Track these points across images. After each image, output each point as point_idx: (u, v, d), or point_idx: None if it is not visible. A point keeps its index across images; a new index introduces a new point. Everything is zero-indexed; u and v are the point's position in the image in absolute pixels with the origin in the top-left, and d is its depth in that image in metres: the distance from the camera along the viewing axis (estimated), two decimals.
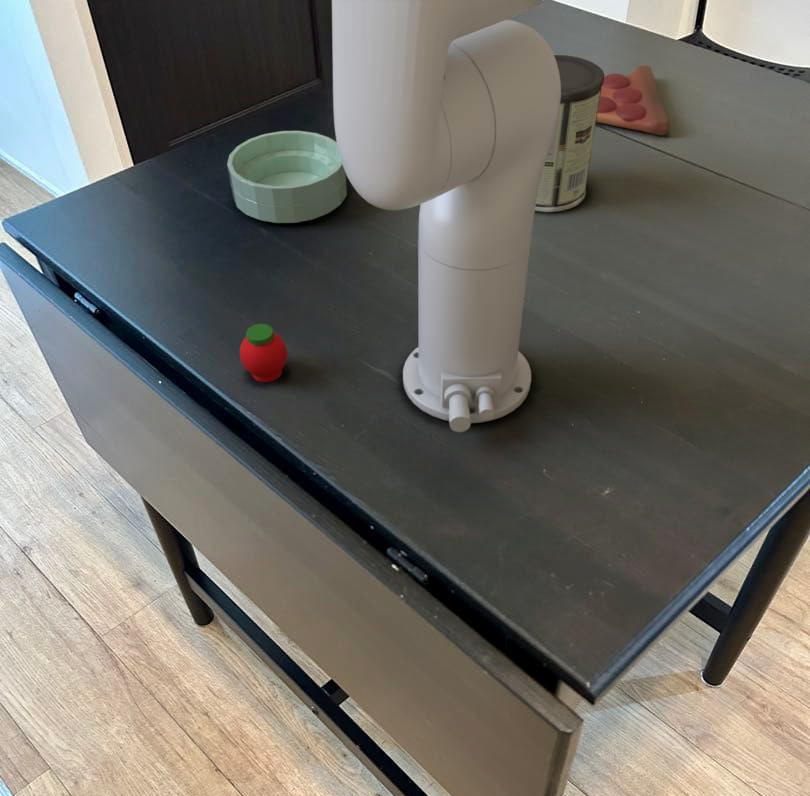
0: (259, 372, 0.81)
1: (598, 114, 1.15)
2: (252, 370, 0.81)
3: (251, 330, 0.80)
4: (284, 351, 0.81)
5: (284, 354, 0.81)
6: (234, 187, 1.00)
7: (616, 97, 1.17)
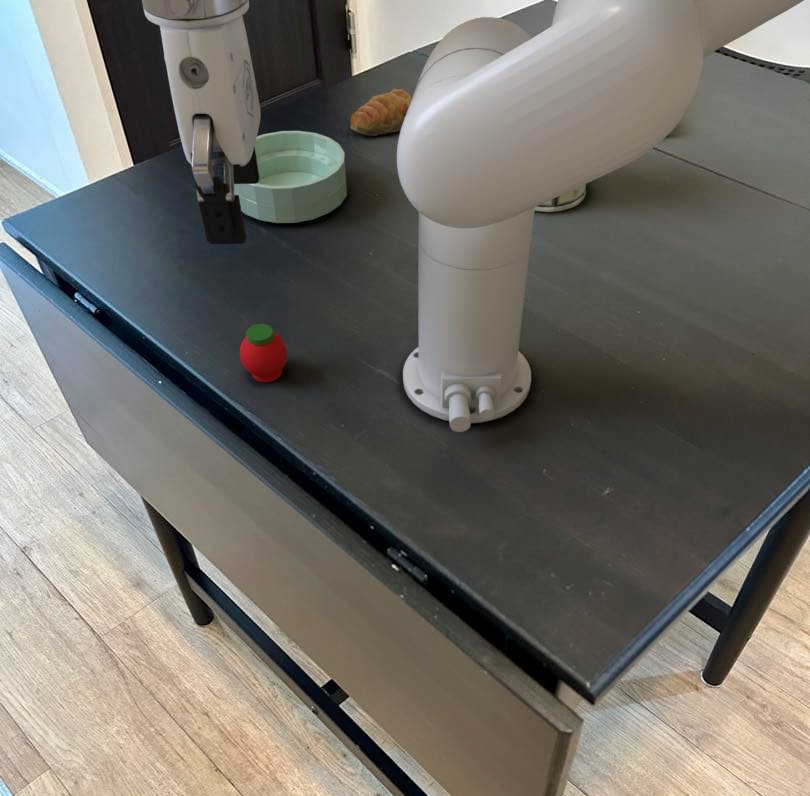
0: (259, 372, 0.81)
1: None
2: (252, 370, 0.81)
3: (251, 330, 0.80)
4: (284, 351, 0.81)
5: (284, 354, 0.81)
6: (234, 187, 1.00)
7: None
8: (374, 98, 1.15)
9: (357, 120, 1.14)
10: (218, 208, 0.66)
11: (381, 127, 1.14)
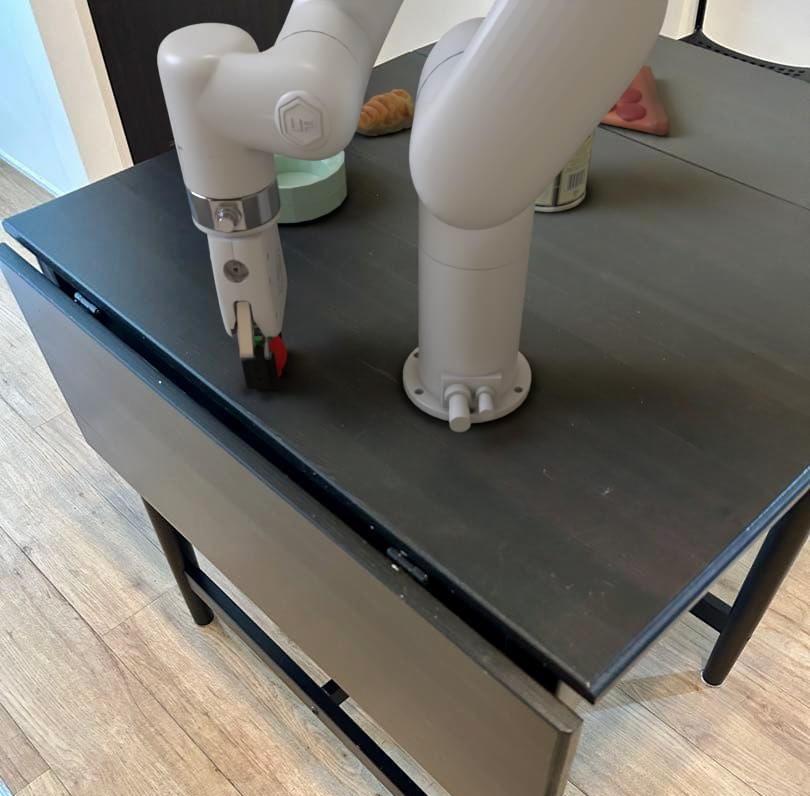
0: None
1: None
2: None
3: None
4: (284, 351, 0.81)
5: (284, 354, 0.81)
6: None
7: None
8: (374, 98, 1.15)
9: None
10: (258, 364, 0.79)
11: (381, 127, 1.14)
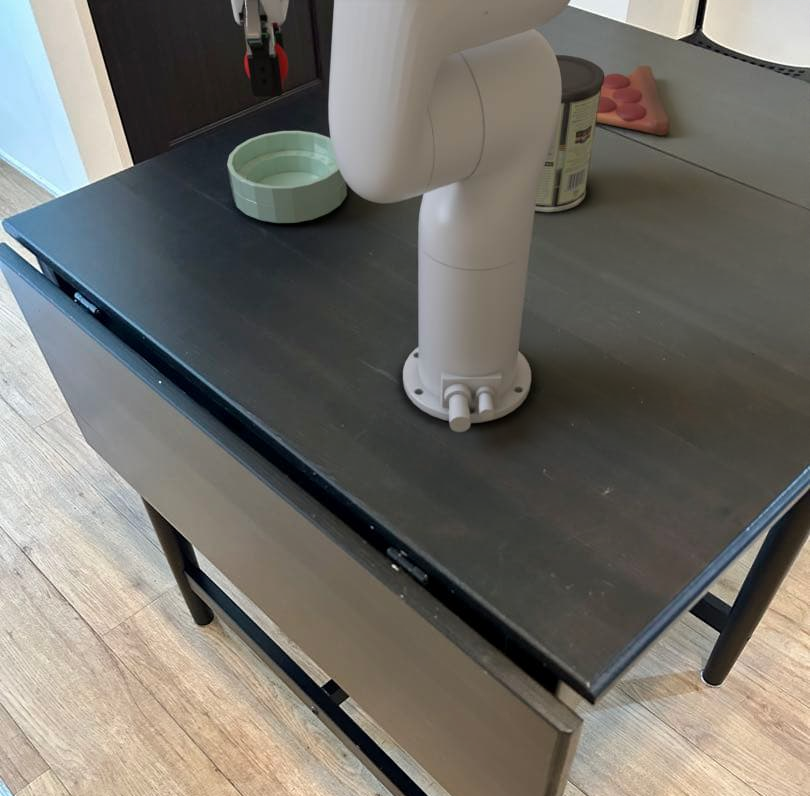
0: None
1: (598, 114, 1.15)
2: None
3: None
4: (285, 60, 0.88)
5: (285, 63, 0.88)
6: (234, 187, 1.00)
7: (616, 97, 1.17)
8: None
9: None
10: (263, 63, 0.85)
11: None
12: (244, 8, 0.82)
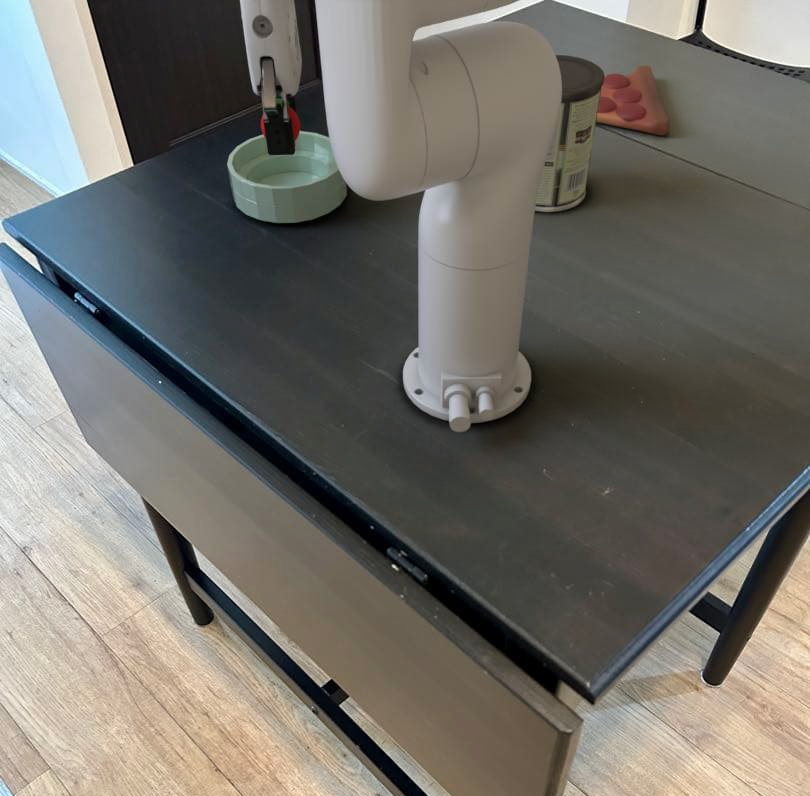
0: None
1: (598, 114, 1.15)
2: None
3: None
4: (298, 122, 0.98)
5: (298, 125, 0.98)
6: (234, 187, 1.00)
7: (616, 97, 1.17)
8: None
9: None
10: (277, 127, 0.95)
11: None
12: (261, 80, 0.91)
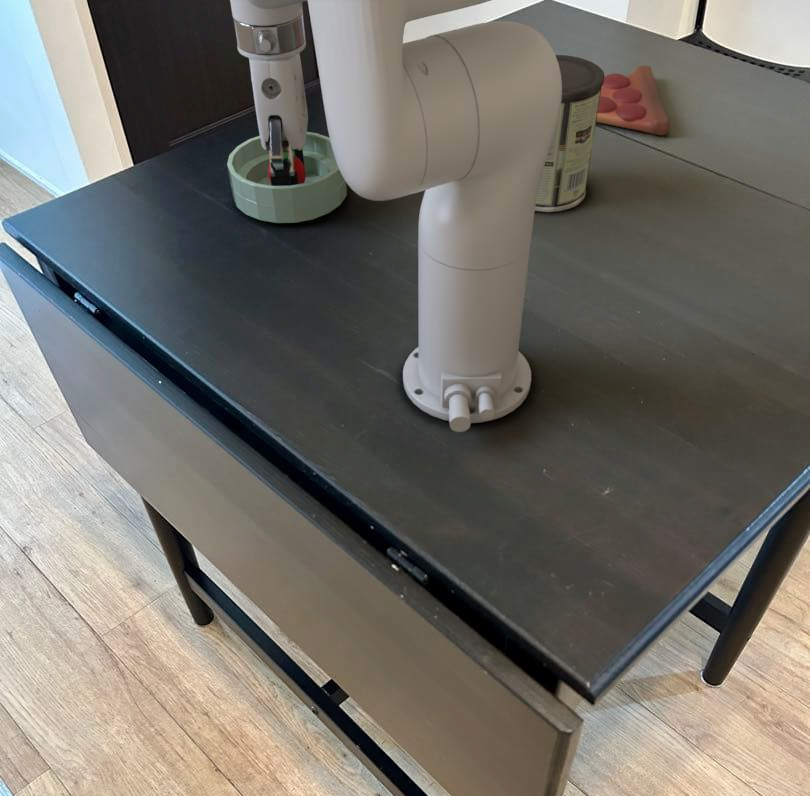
0: None
1: (598, 114, 1.15)
2: None
3: None
4: (303, 170, 1.02)
5: (303, 173, 1.02)
6: (234, 187, 1.00)
7: (616, 97, 1.17)
8: None
9: None
10: (284, 180, 0.98)
11: None
12: (269, 135, 0.96)
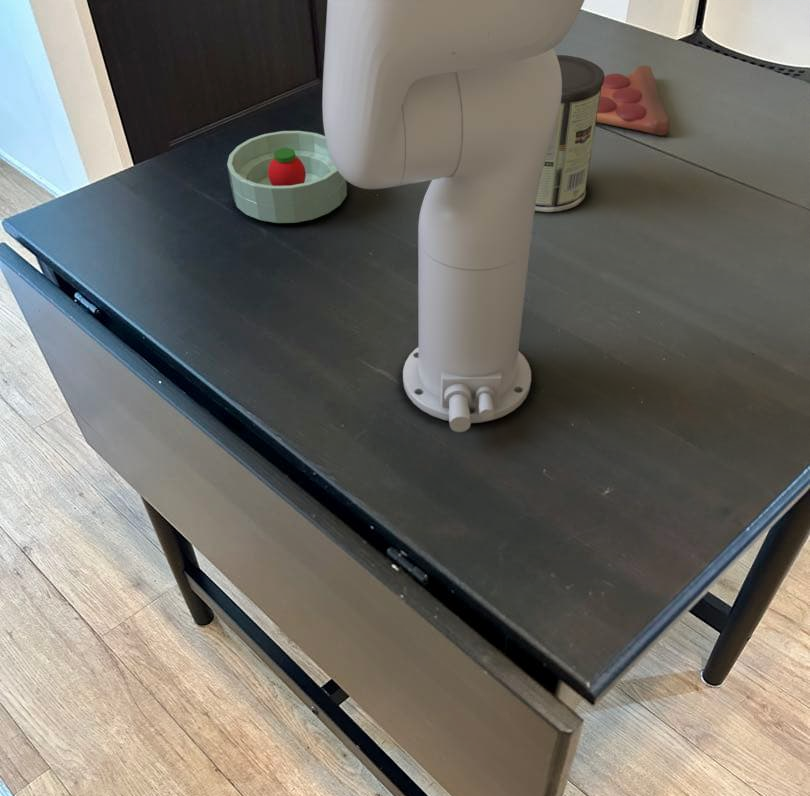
0: None
1: (598, 114, 1.15)
2: (278, 185, 1.02)
3: (278, 151, 1.01)
4: (303, 170, 1.02)
5: (303, 173, 1.02)
6: (234, 187, 1.00)
7: (616, 97, 1.17)
8: None
9: None
10: None
11: None
12: None
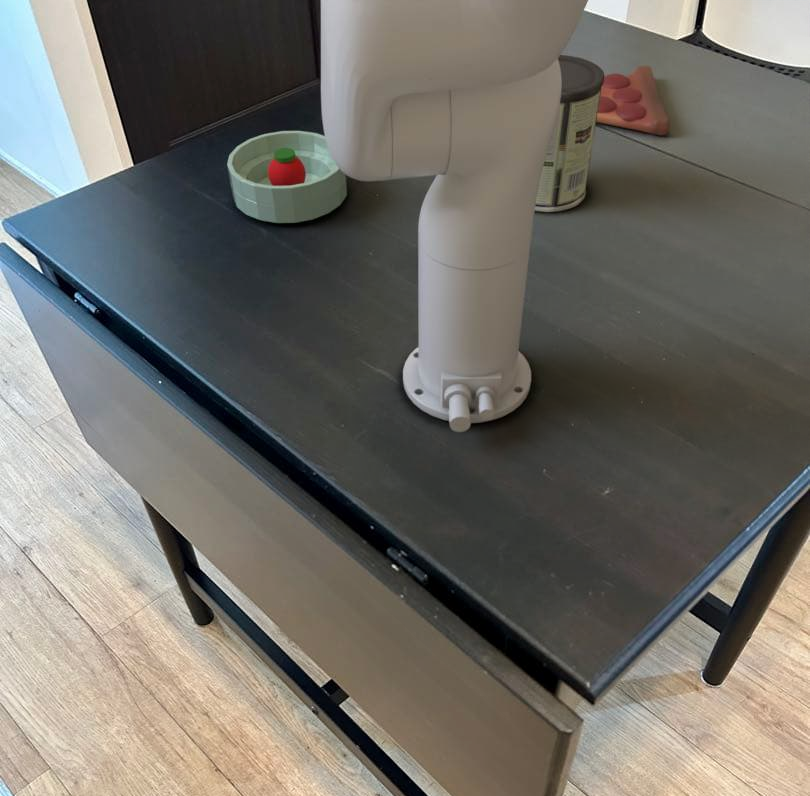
0: None
1: (598, 114, 1.15)
2: (278, 185, 1.02)
3: (278, 151, 1.01)
4: (303, 170, 1.02)
5: (303, 173, 1.02)
6: (234, 187, 1.00)
7: (616, 97, 1.17)
8: None
9: None
10: None
11: None
12: None
